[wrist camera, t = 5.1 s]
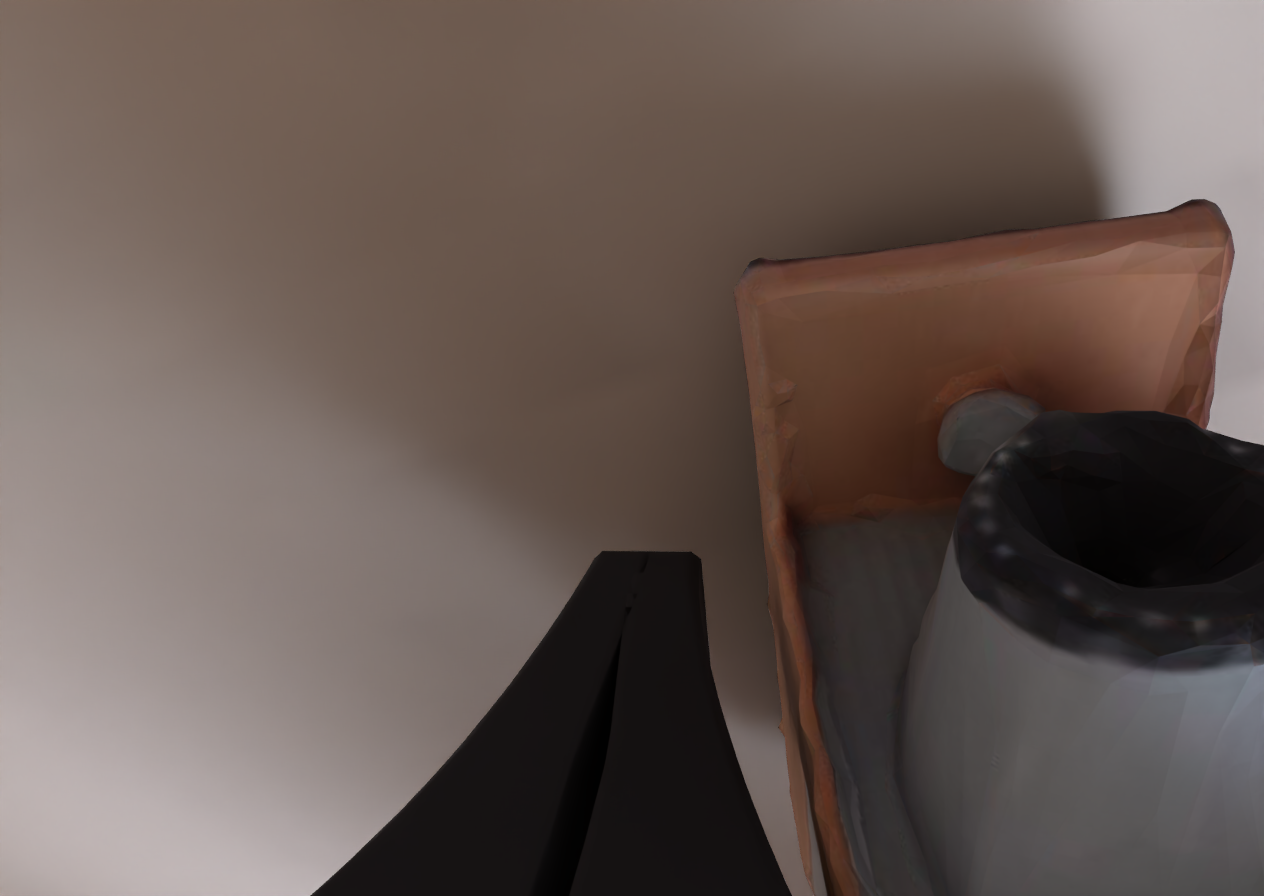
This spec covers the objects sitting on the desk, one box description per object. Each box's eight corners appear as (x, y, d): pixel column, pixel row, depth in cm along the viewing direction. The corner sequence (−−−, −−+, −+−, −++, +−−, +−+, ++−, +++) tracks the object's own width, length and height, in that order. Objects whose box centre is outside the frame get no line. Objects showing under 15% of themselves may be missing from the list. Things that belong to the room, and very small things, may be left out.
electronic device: (1177, 157, 9) (2481, 974, 2) (1074, 771, 14) (1398, 1522, 8) (723, 225, 9) (832, 1034, 3) (790, 792, 14) (879, 1507, 8)
